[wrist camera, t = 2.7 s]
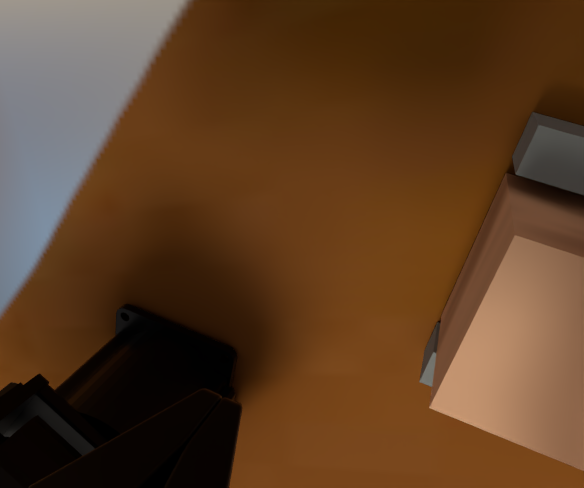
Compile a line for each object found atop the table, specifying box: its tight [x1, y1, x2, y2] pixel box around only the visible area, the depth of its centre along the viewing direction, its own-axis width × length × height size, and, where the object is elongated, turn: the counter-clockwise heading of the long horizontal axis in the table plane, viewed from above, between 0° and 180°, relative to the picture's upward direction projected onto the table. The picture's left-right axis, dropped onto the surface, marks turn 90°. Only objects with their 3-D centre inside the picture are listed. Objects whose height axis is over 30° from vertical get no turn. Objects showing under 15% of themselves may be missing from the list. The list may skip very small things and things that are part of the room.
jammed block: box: [429, 173, 584, 471], centre depth 15 cm, size 6×6×5 cm
